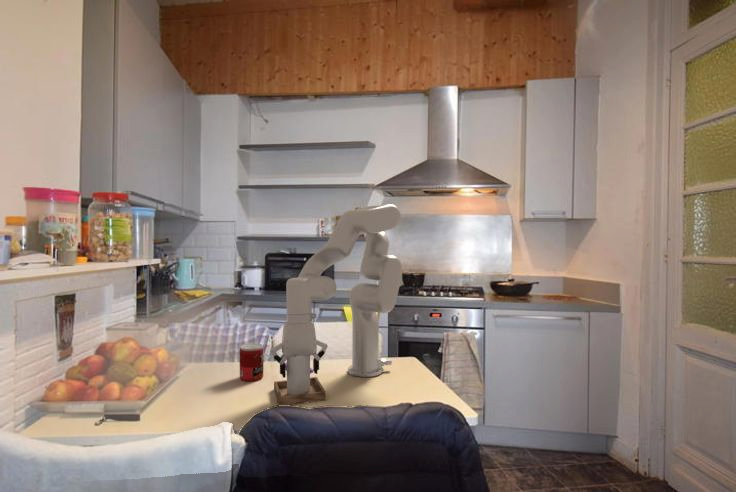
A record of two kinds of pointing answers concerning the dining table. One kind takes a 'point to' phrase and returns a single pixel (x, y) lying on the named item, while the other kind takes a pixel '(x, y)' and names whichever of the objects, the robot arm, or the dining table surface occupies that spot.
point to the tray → (311, 396)
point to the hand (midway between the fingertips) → (299, 374)
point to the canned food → (251, 362)
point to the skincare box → (298, 374)
